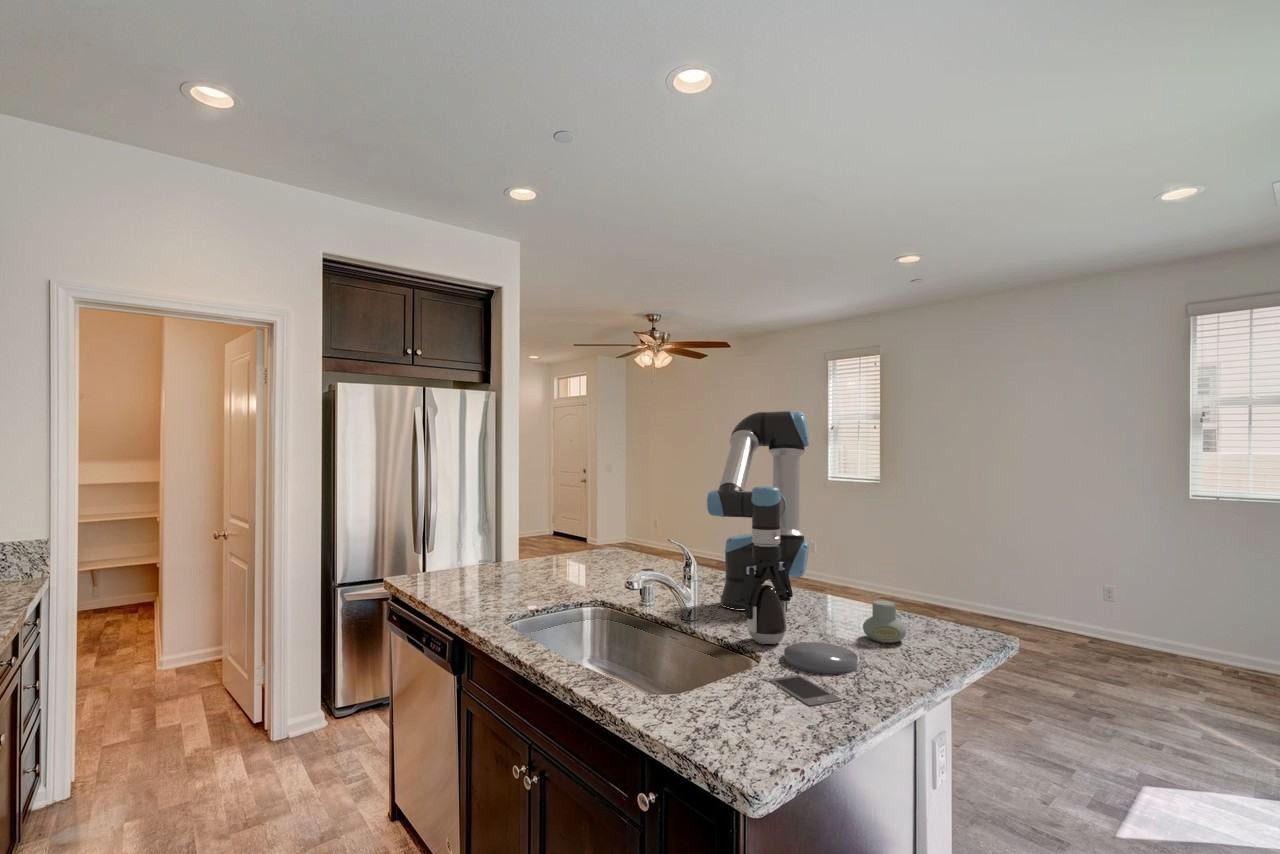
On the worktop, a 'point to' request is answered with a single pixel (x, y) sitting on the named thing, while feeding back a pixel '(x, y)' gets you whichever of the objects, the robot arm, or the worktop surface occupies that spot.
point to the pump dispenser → (769, 616)
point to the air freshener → (884, 623)
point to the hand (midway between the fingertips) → (766, 627)
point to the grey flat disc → (820, 658)
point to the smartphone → (805, 690)
